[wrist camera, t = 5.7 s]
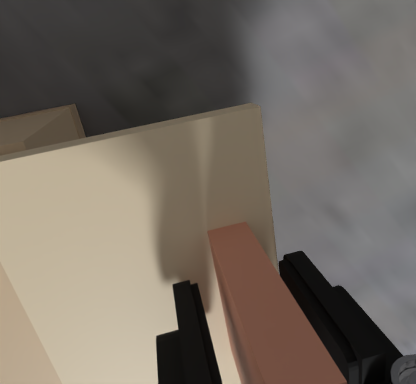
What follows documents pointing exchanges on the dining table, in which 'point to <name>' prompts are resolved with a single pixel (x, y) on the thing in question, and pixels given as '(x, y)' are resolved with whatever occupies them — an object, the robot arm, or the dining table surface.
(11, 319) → the carton
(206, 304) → the flap
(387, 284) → the dining table surface
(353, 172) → the dining table surface
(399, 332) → the dining table surface
